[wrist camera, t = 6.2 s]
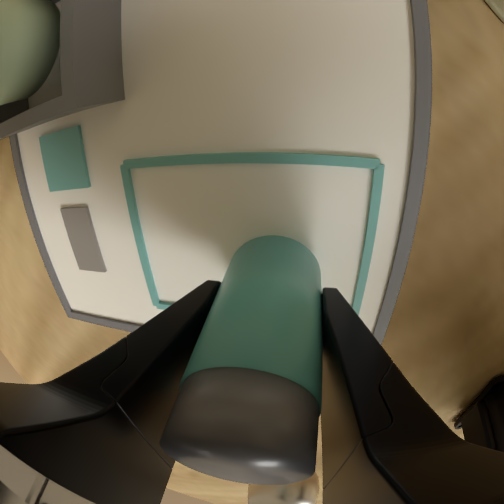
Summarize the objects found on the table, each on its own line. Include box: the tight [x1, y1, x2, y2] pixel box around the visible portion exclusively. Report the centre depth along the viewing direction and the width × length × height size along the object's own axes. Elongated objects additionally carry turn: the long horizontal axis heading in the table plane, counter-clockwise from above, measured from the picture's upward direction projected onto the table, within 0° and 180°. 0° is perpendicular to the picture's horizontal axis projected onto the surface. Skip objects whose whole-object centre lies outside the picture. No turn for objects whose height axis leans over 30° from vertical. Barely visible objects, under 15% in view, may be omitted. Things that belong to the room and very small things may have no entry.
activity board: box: [0, 0, 432, 345], centre depth 8 cm, size 16×16×3 cm
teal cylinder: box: [160, 235, 323, 485], centre depth 7 cm, size 3×3×6 cm
